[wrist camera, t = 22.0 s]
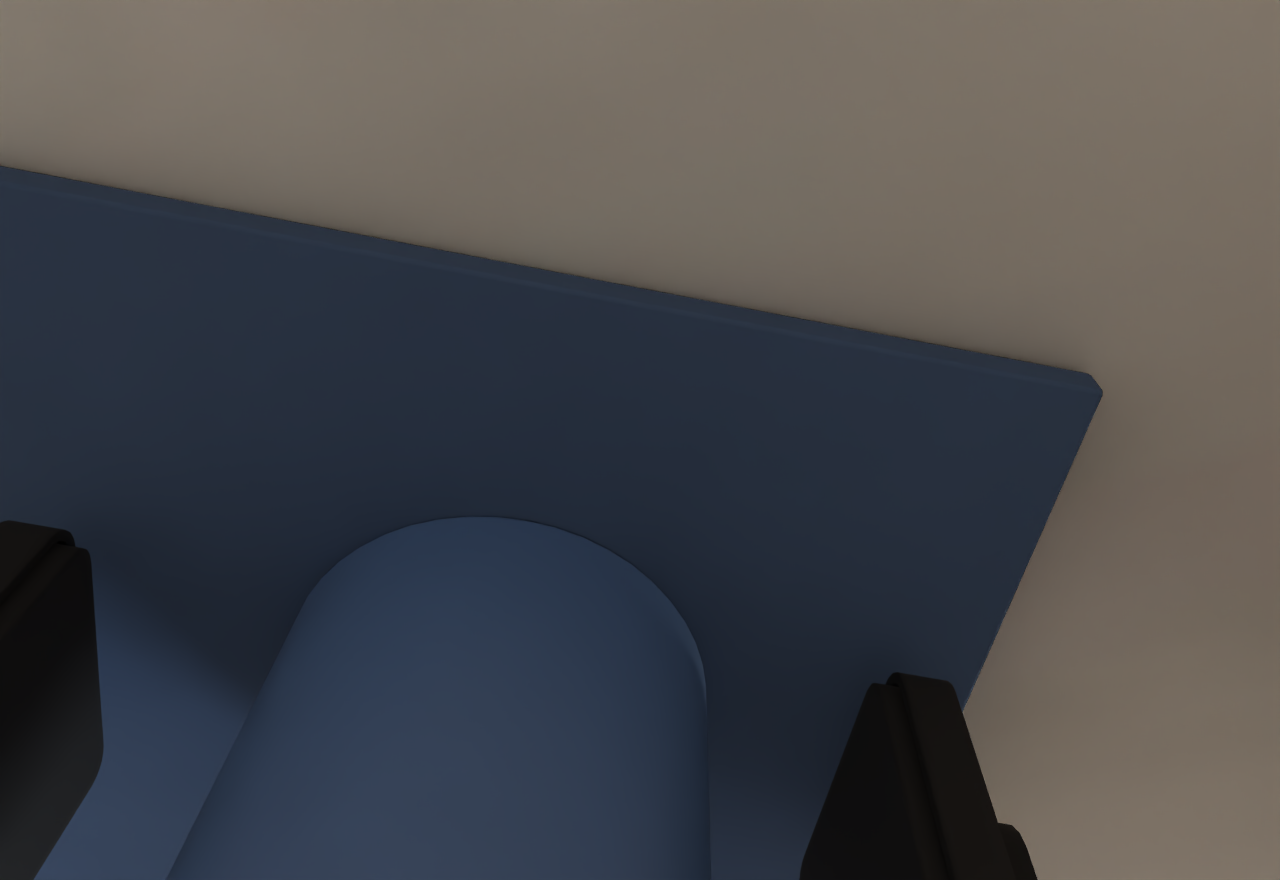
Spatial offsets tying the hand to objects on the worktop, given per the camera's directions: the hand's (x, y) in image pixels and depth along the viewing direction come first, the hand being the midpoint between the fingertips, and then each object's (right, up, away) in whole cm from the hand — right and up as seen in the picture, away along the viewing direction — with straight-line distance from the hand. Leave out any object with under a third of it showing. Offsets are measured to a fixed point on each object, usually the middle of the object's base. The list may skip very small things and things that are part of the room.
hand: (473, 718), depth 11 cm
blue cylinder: (0, 0, +1) cm, 1 cm away
